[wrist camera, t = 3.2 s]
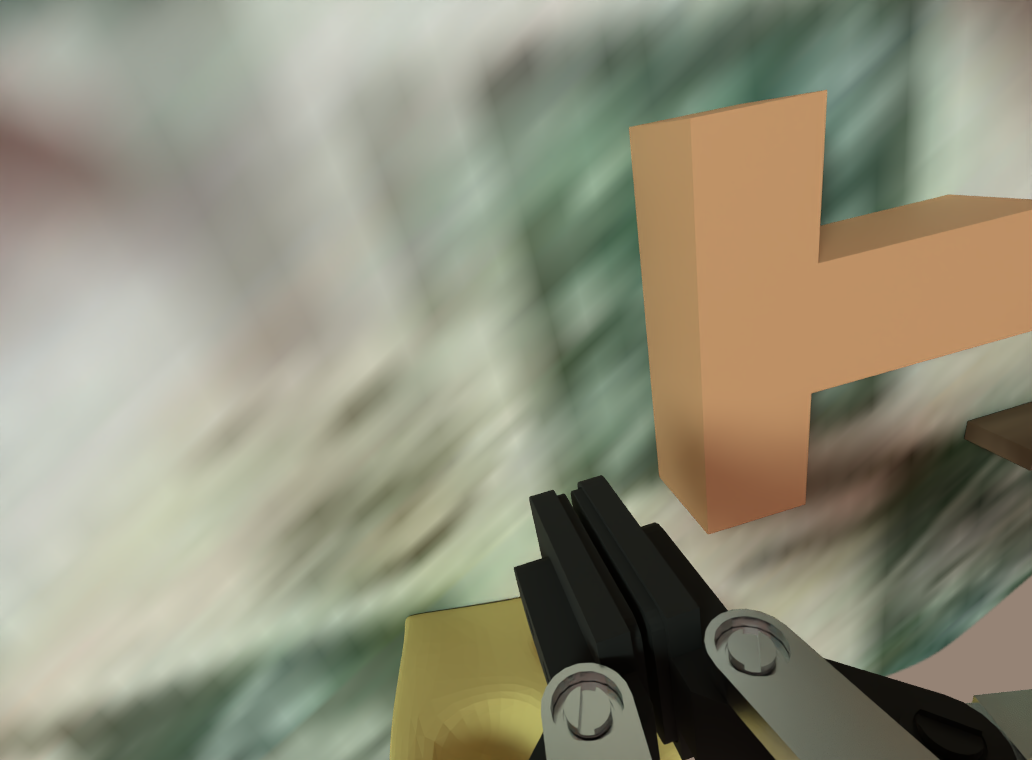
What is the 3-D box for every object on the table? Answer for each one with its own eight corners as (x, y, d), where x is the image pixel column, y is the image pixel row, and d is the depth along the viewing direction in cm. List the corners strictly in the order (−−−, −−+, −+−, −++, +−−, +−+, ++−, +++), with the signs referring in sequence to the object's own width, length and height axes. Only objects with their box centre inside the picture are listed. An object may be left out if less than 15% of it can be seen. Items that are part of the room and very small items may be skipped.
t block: (628, 127, 17) (690, 118, 14) (969, 56, 19) (1104, 32, 15) (659, 476, 23) (708, 534, 20) (918, 400, 25) (1008, 441, 21)
